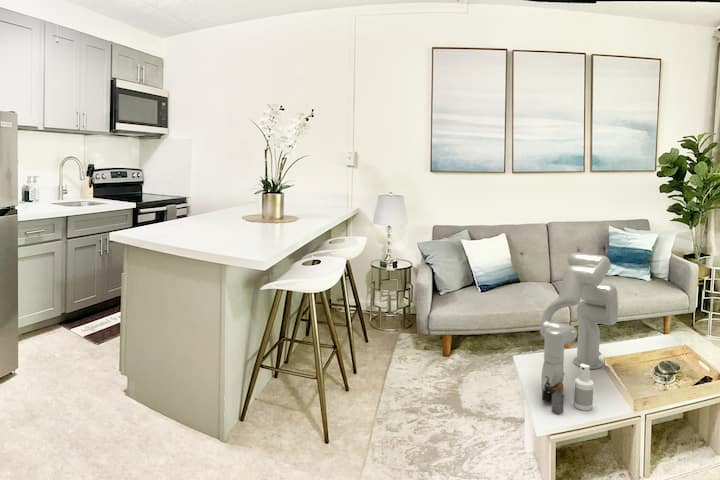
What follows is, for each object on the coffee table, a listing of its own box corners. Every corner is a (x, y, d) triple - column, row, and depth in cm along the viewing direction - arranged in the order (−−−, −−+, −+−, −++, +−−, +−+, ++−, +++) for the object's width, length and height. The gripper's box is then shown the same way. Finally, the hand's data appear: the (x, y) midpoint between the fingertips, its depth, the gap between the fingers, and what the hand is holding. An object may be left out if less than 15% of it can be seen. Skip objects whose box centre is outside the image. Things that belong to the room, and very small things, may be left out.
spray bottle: (571, 406, 193) (572, 365, 189) (577, 400, 197) (579, 360, 194) (588, 412, 188) (590, 370, 185) (594, 406, 192) (596, 364, 189)
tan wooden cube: (549, 394, 203) (549, 379, 201) (562, 400, 198) (563, 384, 197) (541, 399, 199) (542, 384, 198) (555, 405, 194) (556, 389, 193)
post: (555, 408, 192) (556, 391, 190) (563, 411, 189) (563, 394, 188) (551, 411, 190) (552, 394, 188) (559, 414, 187) (559, 397, 186)
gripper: (556, 349, 203) (554, 386, 206) (534, 361, 193) (533, 400, 196) (573, 354, 198) (571, 393, 201) (551, 367, 187) (550, 407, 190)
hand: (552, 396), depth 198 cm, fingers open, 8 cm apart
